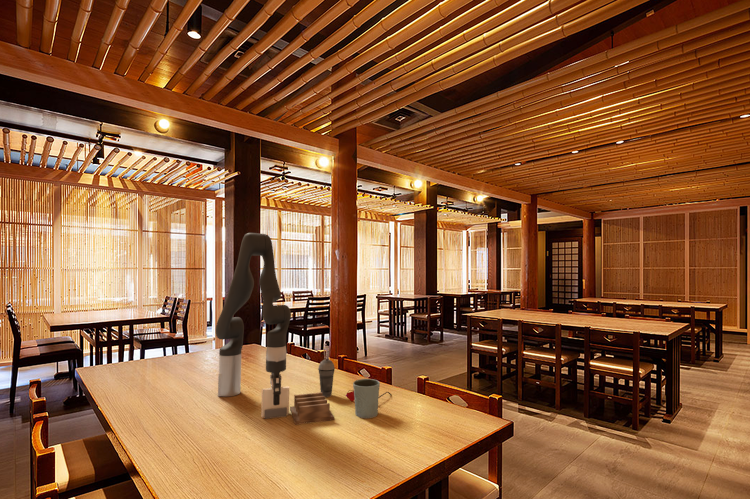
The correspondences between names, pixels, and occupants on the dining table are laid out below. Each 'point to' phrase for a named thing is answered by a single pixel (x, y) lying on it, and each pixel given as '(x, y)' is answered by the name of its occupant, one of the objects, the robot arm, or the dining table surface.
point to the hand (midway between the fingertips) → (275, 401)
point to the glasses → (351, 396)
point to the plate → (268, 399)
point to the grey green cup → (366, 397)
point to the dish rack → (310, 408)
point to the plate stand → (275, 413)
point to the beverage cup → (326, 376)
